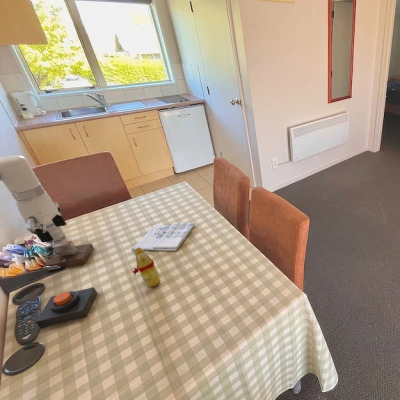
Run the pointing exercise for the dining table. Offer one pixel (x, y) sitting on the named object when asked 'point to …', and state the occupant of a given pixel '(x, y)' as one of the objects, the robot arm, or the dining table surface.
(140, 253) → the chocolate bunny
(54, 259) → the dial panel
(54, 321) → the button housing
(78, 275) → the dining table surface
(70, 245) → the knob
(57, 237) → the bath foam
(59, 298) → the button
